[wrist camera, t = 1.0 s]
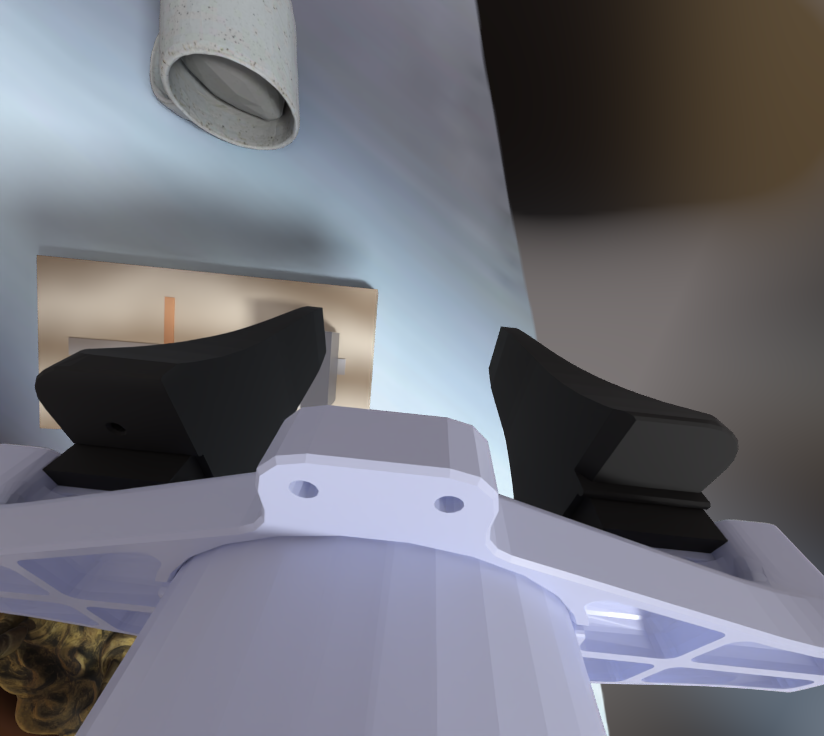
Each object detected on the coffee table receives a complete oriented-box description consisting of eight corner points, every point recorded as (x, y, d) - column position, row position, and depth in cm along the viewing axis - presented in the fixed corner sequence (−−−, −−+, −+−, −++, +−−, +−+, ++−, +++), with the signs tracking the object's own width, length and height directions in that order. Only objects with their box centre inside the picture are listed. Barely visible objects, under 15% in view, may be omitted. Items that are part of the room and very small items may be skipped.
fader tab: (335, 400, 22) (326, 410, 19) (279, 396, 22) (261, 405, 18) (339, 333, 22) (331, 331, 18) (283, 328, 21) (265, 325, 18)
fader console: (367, 438, 24) (366, 445, 23) (63, 422, 22) (38, 428, 21) (378, 292, 23) (377, 289, 22) (60, 261, 21) (34, 254, 20)
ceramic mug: (308, 39, 21) (264, -118, 14) (313, 153, 22) (273, 60, 15) (161, 32, 21) (35, -137, 13) (171, 149, 22) (56, 50, 14)
